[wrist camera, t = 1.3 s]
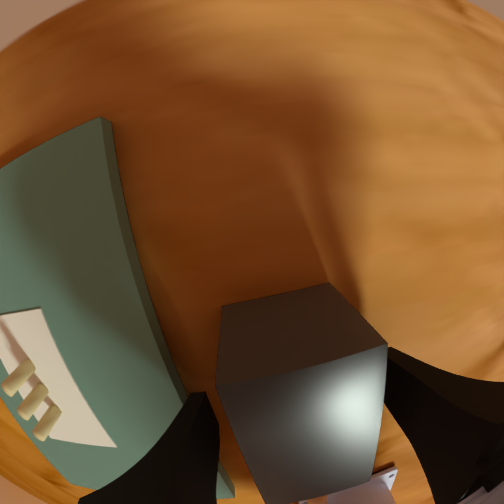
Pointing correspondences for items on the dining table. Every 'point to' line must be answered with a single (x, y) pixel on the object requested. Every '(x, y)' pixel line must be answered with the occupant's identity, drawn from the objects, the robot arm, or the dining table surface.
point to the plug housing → (302, 392)
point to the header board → (80, 314)
